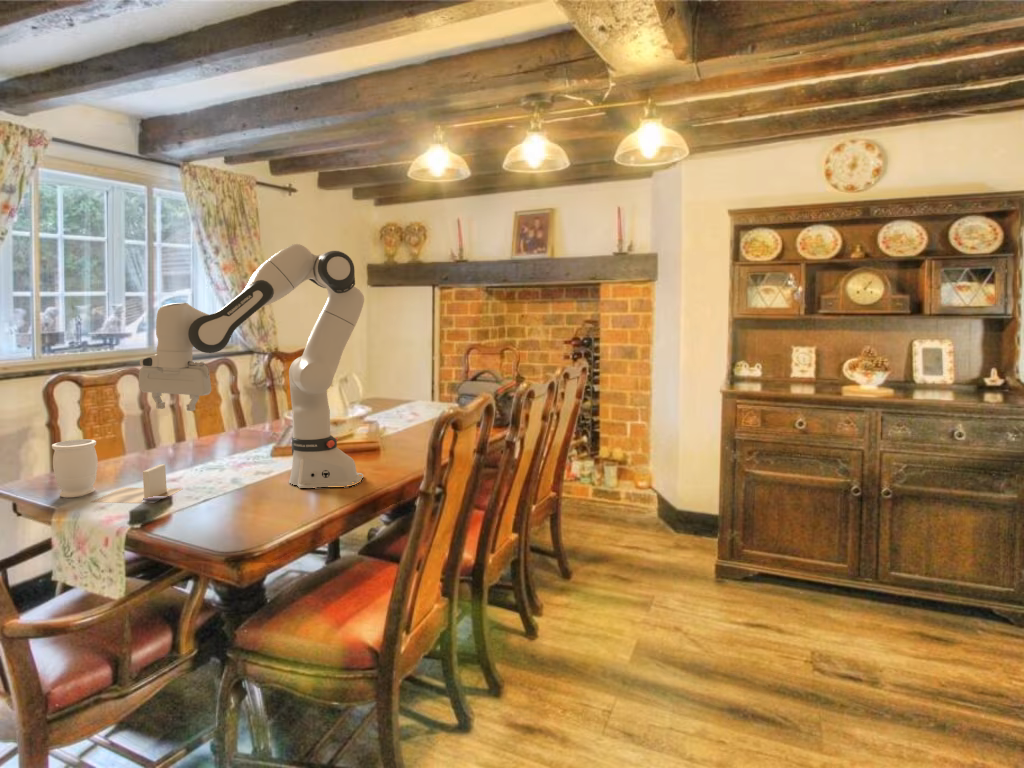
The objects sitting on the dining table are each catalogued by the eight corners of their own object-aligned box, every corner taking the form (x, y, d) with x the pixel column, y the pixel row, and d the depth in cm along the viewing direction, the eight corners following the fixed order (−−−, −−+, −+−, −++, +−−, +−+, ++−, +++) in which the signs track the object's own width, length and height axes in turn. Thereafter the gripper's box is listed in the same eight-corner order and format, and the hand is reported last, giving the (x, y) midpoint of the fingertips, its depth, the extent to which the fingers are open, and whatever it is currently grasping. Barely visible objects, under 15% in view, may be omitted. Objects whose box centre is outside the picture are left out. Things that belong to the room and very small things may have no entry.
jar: (73, 488, 184) (70, 438, 183) (107, 489, 184) (104, 439, 182) (45, 499, 174) (41, 446, 172) (82, 499, 173) (78, 447, 172)
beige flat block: (166, 491, 180) (165, 464, 179) (150, 499, 172) (148, 471, 171) (160, 491, 180) (159, 464, 179) (143, 499, 172) (142, 471, 171)
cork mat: (183, 490, 183) (183, 488, 183) (155, 505, 169) (154, 503, 169) (123, 489, 184) (123, 487, 184) (90, 504, 170) (89, 502, 170)
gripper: (215, 361, 176) (216, 410, 177) (150, 358, 179) (151, 406, 180) (201, 363, 170) (202, 413, 171) (134, 359, 173) (135, 409, 174)
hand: (175, 409), depth 176 cm, fingers open, 8 cm apart
